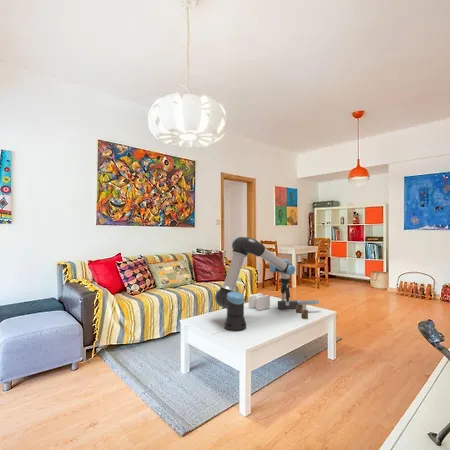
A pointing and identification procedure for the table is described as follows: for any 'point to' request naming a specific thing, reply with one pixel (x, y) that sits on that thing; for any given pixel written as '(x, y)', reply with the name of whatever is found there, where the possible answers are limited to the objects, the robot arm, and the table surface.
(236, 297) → the robot arm
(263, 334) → the table surface
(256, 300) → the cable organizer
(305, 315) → the brown wooden bar
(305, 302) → the latch
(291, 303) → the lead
